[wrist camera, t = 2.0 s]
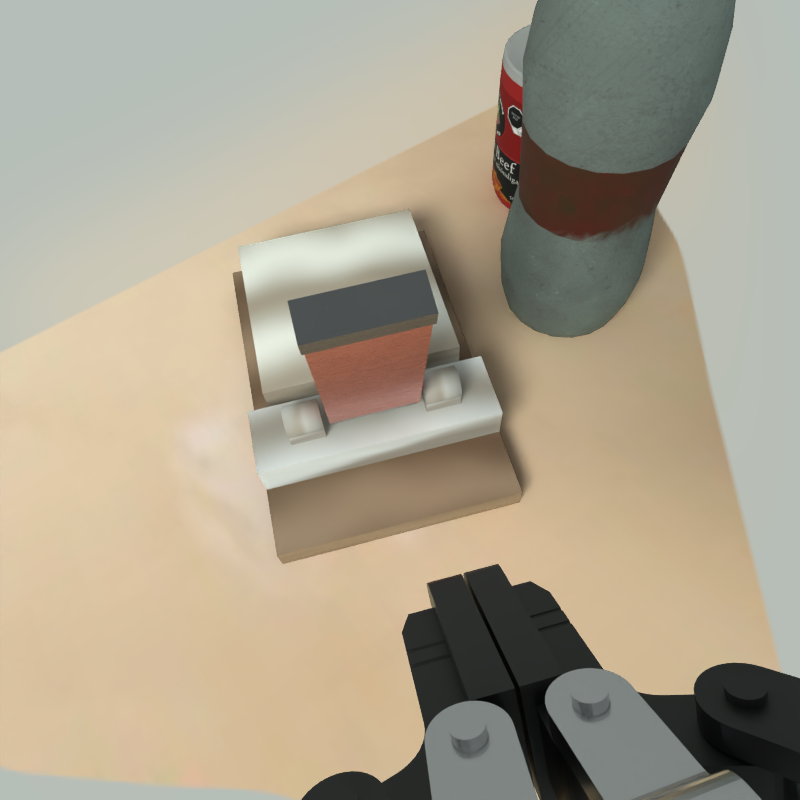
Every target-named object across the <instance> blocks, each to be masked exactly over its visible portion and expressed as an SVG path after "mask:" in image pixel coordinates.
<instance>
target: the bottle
mask: <svg viewBox="0 0 800 800" xmlns="http://www.w3.org/2000/svg"><path fill="white" fill-rule="evenodd" d="M734 9H735V0H538V1H537V4H536V7H535V11H534V15H533V19H532V23H531V27H530V31H529V35H528V40H527V44H526V48H525V52H524V56H523V111H522V132H521V152H520V172H519V183H518V186H517V189H516V192H515V195H514V198H513V201H512V204H511V208H510V211H509V214H508V218H507V221H506V225H505V228H504V232H503V235H502V239H501V279H502V285H503V289H504V292H505V296H506V298H507V301H508V304H509V306H510V309H511V310H512V311H513V312H514V314H515V315H516V316H517V317H518V318H519V320H520V321H521V322H523V323H524V324H526V325H528V326H529V327H531V328H532V329H534V330H535V331H538V332H541V333H544V334H547V335H550V336H556V337H576V336H581V335H586V334H590V333H592V332H593V331H595V330H597V329H599V328H601V327H603V326H604V325H605V324H606V323H607V322H608V321H609V320H610V319H611V318H612V317H613V316H614V315H615V314H616V313H617V311H618V310H619V309H620V308H621V307H622V306H623V305H624V303H625V302H626V300H627V299H628V297H629V295H630V294H631V292H632V290H633V289H634V287H635V285H636V284H637V282H638V280H639V278H640V275H641V272H642V268H643V265H644V262H645V258H646V253H647V249H648V244H649V240H650V236H651V231H652V225H653V220H654V214H655V209H656V207H657V205H658V203H659V201H660V199H661V197H662V195H663V193H664V191H665V188H666V187H667V185H668V183H669V180H670V179H671V176H672V174H673V172H674V170H675V168H676V166H677V164H678V162H679V160H680V157H681V156H682V154H683V152H684V150H685V148H686V146H687V143H688V142H689V140H690V138H691V137H692V135H693V133H694V131H695V129H696V127H697V126H698V124H699V122H700V120H701V118H702V116H703V115H704V113H705V111H706V109H707V107H708V105H709V104H710V102H711V100H712V97H713V94H714V91H715V88H716V85H717V82H718V78H719V74H720V71H721V67H722V63H723V60H724V56H725V52H726V49H727V45H728V42H729V38H730V34H731V30H732V27H733V18H734Z"/></svg>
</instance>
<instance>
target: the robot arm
mask: <svg viewBox="0 0 800 800" xmlns="http://www.w3.org/2000/svg"><path fill="white" fill-rule="evenodd" d="M427 588H428V593H429V597H430V602H431V606H432V608H431V609H427V610H423V611H419V612H416V613H412V614H408V617H407V620H406V623H405V625H404V628H403V631H402V635H403V639H404V643H405V647H406V651H407V655H408V659H409V664H410V668H411V672H412V676H413V680H414V684H415V688H416V692H417V696H418V701H419V705H420V709H421V713H422V717H423V721H424V726H425V737H424V740H423V744H422V746H421V748H420V750H419V752H418V753H417V755H416V757H415V758H414V759H413V760H412V761H411V762H410V763H409V764H408V765H407V766H406V767H405V768H404V769H402V770H401V771H400V772H398V773H397V774H395V775H394V776H392V777H390V778H389V779H387V780H386V781H384V782H382V783H381V782H380V781H379V780H378V779H377V778H375V777H374V776H372V775H369V774H367V773H363V772H354V771H351V772H343V773H339V774H336V775H333V776H330V777H328V778H326V779H324V780H323V781H321V782H319V783H318V784H317V785H315V786H314V787H313V788H312V789H311V790H309V791H308V792H307V794H306V795H305V796H304V797H303V798H302V800H538V798H537V795H536V792H537V794H538V797H539V799H540V800H800V678H797V677H794V676H790V675H787V674H784V673H780V672H777V671H774V670H770V669H767V668H764V667H760V666H756V665H752V664H745V663H726V664H721V665H717V666H714V667H711V668H709V669H707V670H705V671H704V672H703V673H702V674H700V676H699V677H698V678H697V680H696V682H695V685H694V695H650V694H644V693H639V692H637V691H636V690H635V689H634V688H633V687H632V685H631V684H630V683H629V682H628V681H626V680H625V679H624V678H622V677H621V676H619V675H617V674H615V673H613V672H610V671H607V670H604V669H603V668H602V667H601V665H600V664H599V662H598V661H597V659H596V658H595V657H594V655H593V654H592V652H591V651H590V649H589V648H588V647H587V645H586V644H585V642H584V641H583V639H582V638H581V636H580V635H579V634H578V632H577V631H576V629H575V628H574V626H573V625H572V624H570V621H569V619H568V618H567V616H566V615H565V614H564V612H563V611H561V608H560V606H559V605H558V603H557V602H556V601H555V599H554V598H553V596H552V595H551V593H550V592H549V591H547V590H545V589H543V588H542V587H540V586H538V585H536V584H534V583H533V582H531V581H529V582H526V583H522V584H518V585H515V586H511V584H510V582H509V581H508V579H507V577H506V575H505V574H504V572H503V570H502V569H501V567H500V566H499V565H498V564H496V565H492V566H488V567H485V568H481V569H477V570H473V571H470V572H466V573H464V578H463V576H462V575H461V574H459V575H455V576H452V577H448V578H444V579H440V580H437V581H433V582H429V583H427ZM534 787H535V788H534ZM535 789H536V792H535Z"/></svg>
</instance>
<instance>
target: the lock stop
mask: <svg viewBox="0 0 800 800" xmlns="http://www.w3.org/2000/svg"><path fill="white" fill-rule="evenodd" d="M287 302H288V306H289V310H290V315H291V319H292V323H293V328H294V332H295V337H296V341H297V345H298V348H299V351H300V353H301V355H305V358H306V361H307V363H308V366H309V369H310V371H311V374H312V377H313V379H314V382H315V385H316V387H317V390H318V393H319V395H320V398H321V401H322V403H323V406H324V409H325V411H326V414H327V417H328V419H329V422H330V423H332V424H336V423H340V422H344V421H348V420H352V419H357V418H361V417H365V416H369V415H373V414H377V413H381V412H385V411H389V410H393V409H397V408H402V407H406V406H410V405H414V404H417V402H420V398H421V392H422V386H423V380H424V374H425V369H426V363H427V357H428V351H429V345H430V339H431V333H432V327H433V324H437V319H438V314H439V313H438V309H437V306H436V303H435V299H434V296H433V292H432V289H431V286H430V282H429V279H428V275H427V272H426V269H425V270H420V271H416V272H412V273H407V274H403V275H398V276H394V277H390V278H385V279H381V280H376V281H372V282H368V283H363V284H359V285H354V286H350V287H346V288H341V289H337V290H332V291H328V292H323V293H319V294H315V295H310V296H306V297H301V298H297V299H293V300H288V301H287Z"/></svg>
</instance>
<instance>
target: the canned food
mask: <svg viewBox="0 0 800 800" xmlns="http://www.w3.org/2000/svg"><path fill="white" fill-rule="evenodd" d="M530 27H531V25H529V26H526V27H524V28H522V29H521V30H519V31H517V32H516V33H514V34H513V35H512V36H511V37H510V38H509V40H508V42H507V43H506V45H505V51H504V55H503V60H502V70H501V78H500V90H499V101H498V113H497V124H496V136H495V148H494V159H493V171H492V180H493V185H494V189H495V192H496V194H497V197H498V198H499V199H500V201H501V202H502V203H503V204H504V205H505V206H506V207H507V208H509V209H510V208H511V204H512V201H513V198H514V195H515V192H516V189H517V186H518V183H519V172H520V152H521V132H522V111H523V56H524V52H525V48H526V44H527V40H528V35H529V31H530Z"/></svg>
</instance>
